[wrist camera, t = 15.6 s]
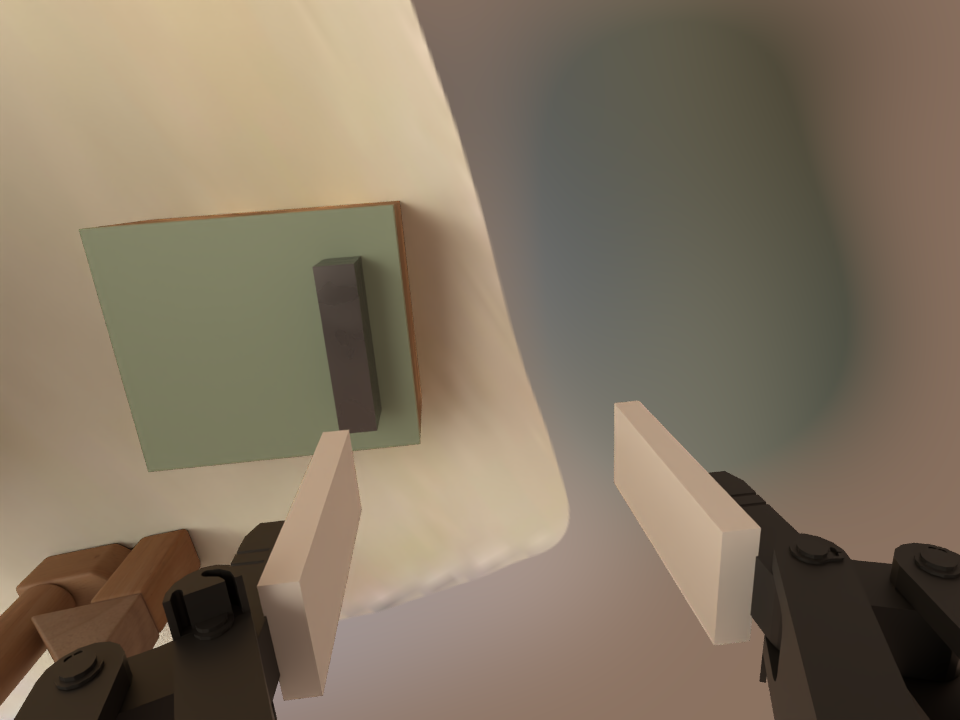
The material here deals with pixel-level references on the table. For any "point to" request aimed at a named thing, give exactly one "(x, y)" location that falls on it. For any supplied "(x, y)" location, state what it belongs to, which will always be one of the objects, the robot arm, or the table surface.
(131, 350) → the lid
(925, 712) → the robot arm
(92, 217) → the table surface
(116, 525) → the table surface
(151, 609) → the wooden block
